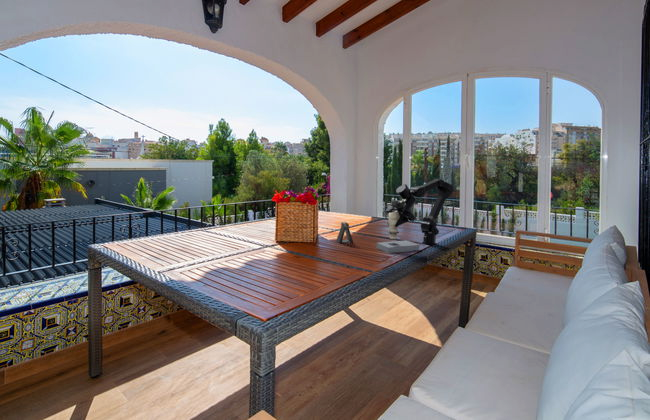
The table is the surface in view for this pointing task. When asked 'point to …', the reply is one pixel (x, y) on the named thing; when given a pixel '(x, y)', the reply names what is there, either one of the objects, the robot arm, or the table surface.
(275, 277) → the table surface
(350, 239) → the grey a-shaped frame
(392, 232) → the ash peg
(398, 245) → the grey slab with hole
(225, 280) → the table surface
